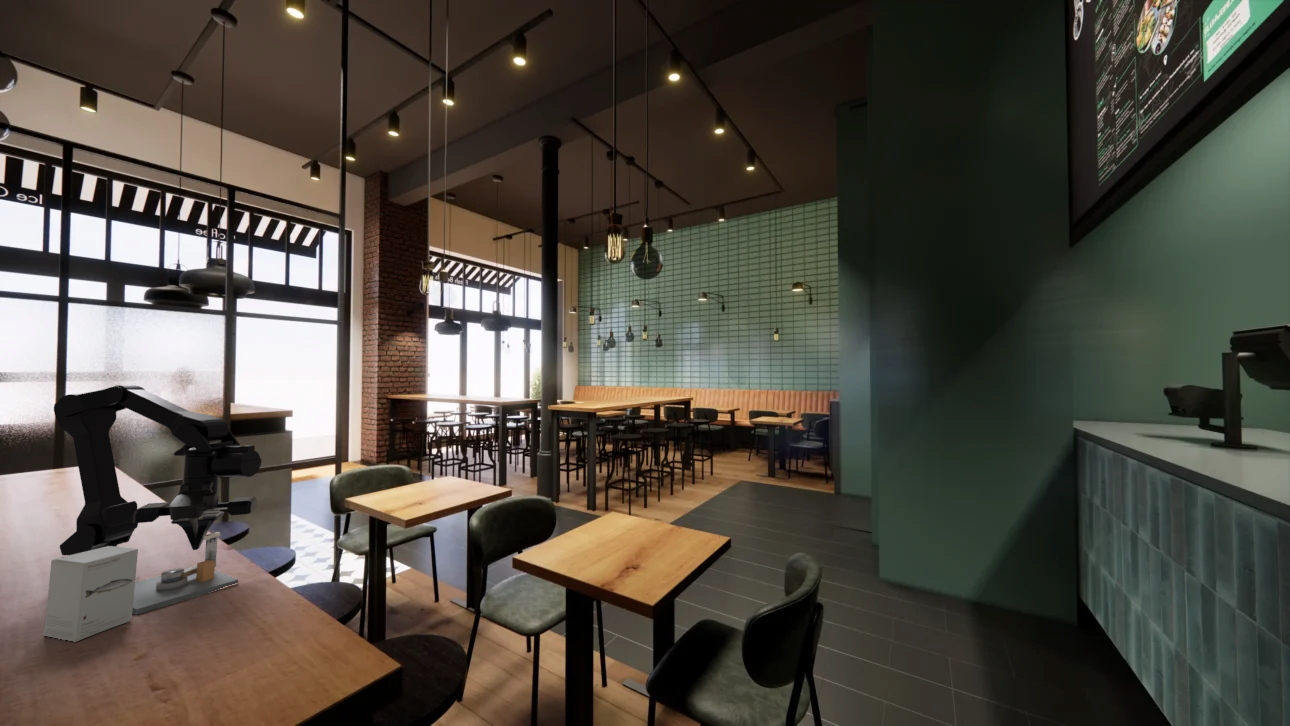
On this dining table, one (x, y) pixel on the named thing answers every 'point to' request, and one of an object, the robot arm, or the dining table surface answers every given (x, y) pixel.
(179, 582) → the crank bed
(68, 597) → the supplement box
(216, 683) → the dining table surface
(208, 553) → the crank
